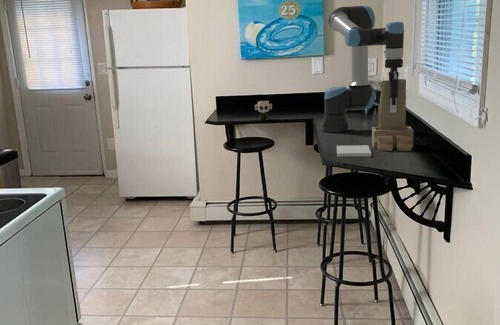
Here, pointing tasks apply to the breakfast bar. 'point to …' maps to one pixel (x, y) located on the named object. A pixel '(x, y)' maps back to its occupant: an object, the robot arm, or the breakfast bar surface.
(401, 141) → the offcut block
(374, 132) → the rack
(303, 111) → the breakfast bar surface
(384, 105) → the stone slab
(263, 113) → the big eared figurine
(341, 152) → the felt pad
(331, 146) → the breakfast bar surface
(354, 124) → the breakfast bar surface
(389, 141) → the offcut block
